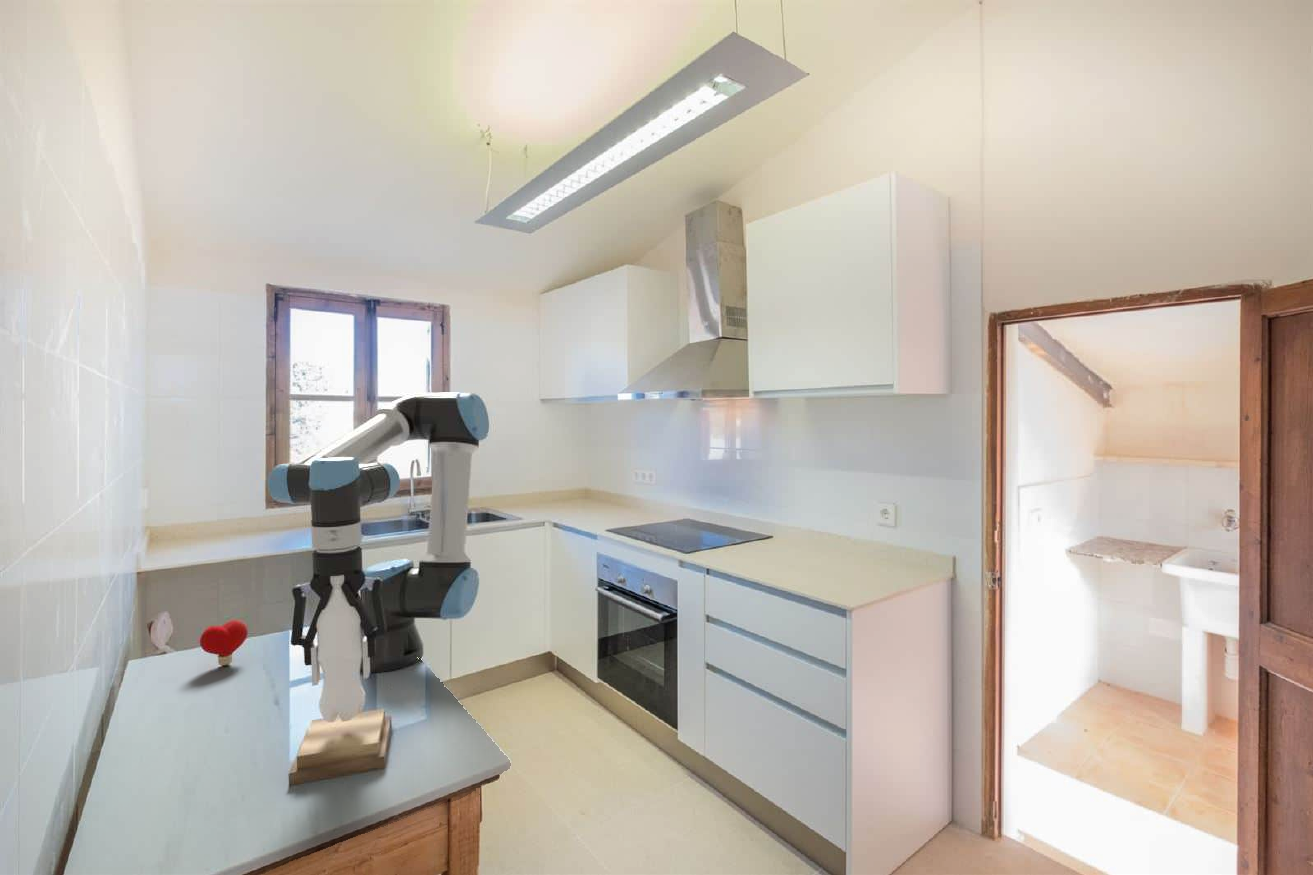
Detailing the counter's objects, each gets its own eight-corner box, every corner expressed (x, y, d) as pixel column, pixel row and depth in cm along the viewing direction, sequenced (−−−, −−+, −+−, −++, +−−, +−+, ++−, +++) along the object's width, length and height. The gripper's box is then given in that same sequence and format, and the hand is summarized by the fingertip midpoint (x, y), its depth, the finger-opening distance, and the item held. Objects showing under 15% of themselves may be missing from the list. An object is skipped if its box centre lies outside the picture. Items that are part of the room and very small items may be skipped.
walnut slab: (307, 739, 110) (307, 729, 110) (391, 725, 114) (391, 715, 114) (288, 785, 97) (288, 773, 96) (384, 767, 101) (384, 756, 101)
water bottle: (357, 701, 110) (353, 565, 109) (372, 715, 105) (367, 573, 104) (314, 715, 105) (308, 573, 104) (326, 731, 100) (321, 582, 99)
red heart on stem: (242, 655, 147) (240, 615, 146) (254, 662, 143) (252, 621, 142) (196, 669, 140) (194, 626, 139) (207, 677, 135) (205, 633, 135)
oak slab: (312, 730, 109) (312, 720, 109) (385, 719, 113) (384, 708, 113) (297, 768, 98) (296, 756, 98) (378, 754, 102) (377, 742, 102)
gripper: (263, 558, 97) (269, 697, 98) (399, 547, 103) (403, 678, 104) (275, 547, 104) (281, 678, 105) (402, 538, 110) (405, 661, 112)
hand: (341, 678), depth 105 cm, fingers closed on water bottle, 7 cm apart
